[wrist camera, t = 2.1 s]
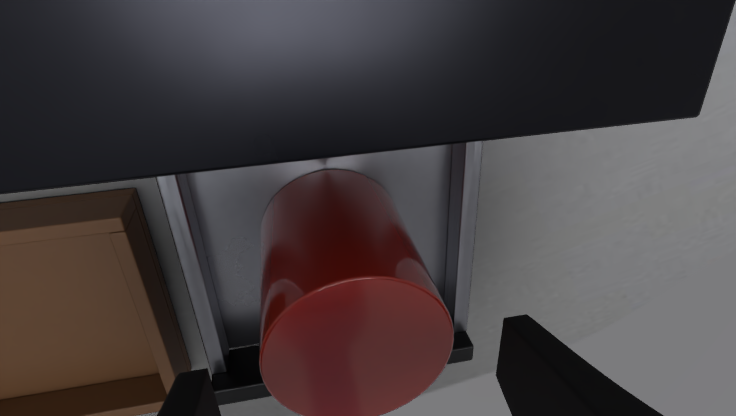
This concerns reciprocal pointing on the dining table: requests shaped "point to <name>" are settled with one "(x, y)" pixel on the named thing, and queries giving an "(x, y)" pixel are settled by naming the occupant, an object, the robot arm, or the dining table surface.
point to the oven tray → (242, 243)
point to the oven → (327, 78)
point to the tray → (84, 309)
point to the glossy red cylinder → (345, 301)
